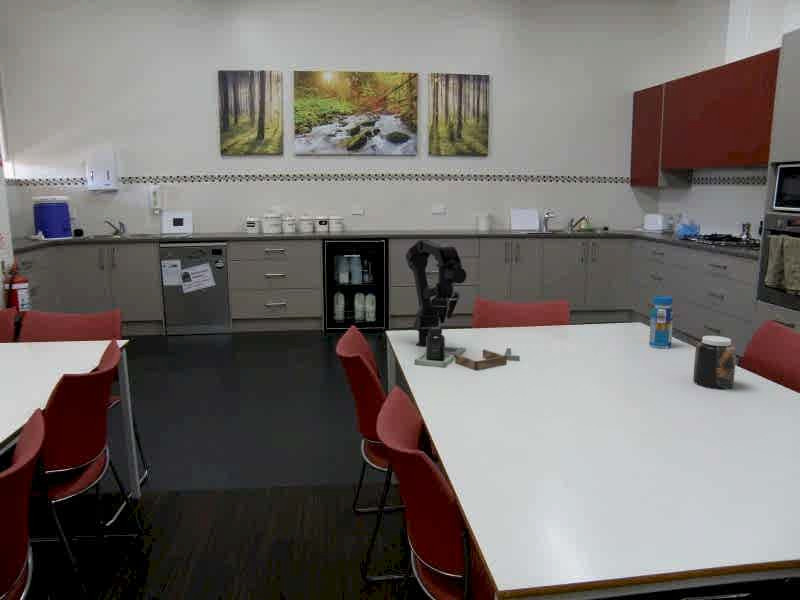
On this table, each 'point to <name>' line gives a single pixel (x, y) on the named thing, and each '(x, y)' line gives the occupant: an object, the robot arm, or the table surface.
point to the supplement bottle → (435, 345)
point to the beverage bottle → (661, 322)
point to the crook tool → (511, 357)
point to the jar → (715, 362)
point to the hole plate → (454, 350)
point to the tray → (423, 361)
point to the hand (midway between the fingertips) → (445, 320)
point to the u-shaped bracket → (490, 360)
